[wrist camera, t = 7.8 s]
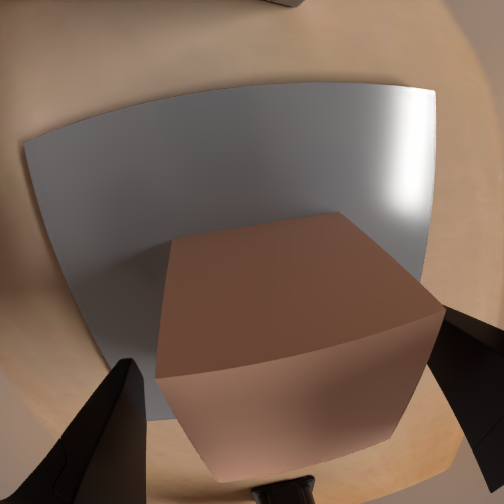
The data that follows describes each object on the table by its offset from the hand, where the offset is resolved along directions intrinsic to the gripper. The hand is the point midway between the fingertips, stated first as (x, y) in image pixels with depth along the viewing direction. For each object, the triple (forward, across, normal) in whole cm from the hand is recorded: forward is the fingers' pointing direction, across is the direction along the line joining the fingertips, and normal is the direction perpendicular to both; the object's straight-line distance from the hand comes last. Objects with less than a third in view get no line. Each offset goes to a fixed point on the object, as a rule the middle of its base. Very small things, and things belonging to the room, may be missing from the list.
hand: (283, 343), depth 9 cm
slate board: (+4, 0, 0) cm, 4 cm away
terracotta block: (+2, 0, 0) cm, 2 cm away
